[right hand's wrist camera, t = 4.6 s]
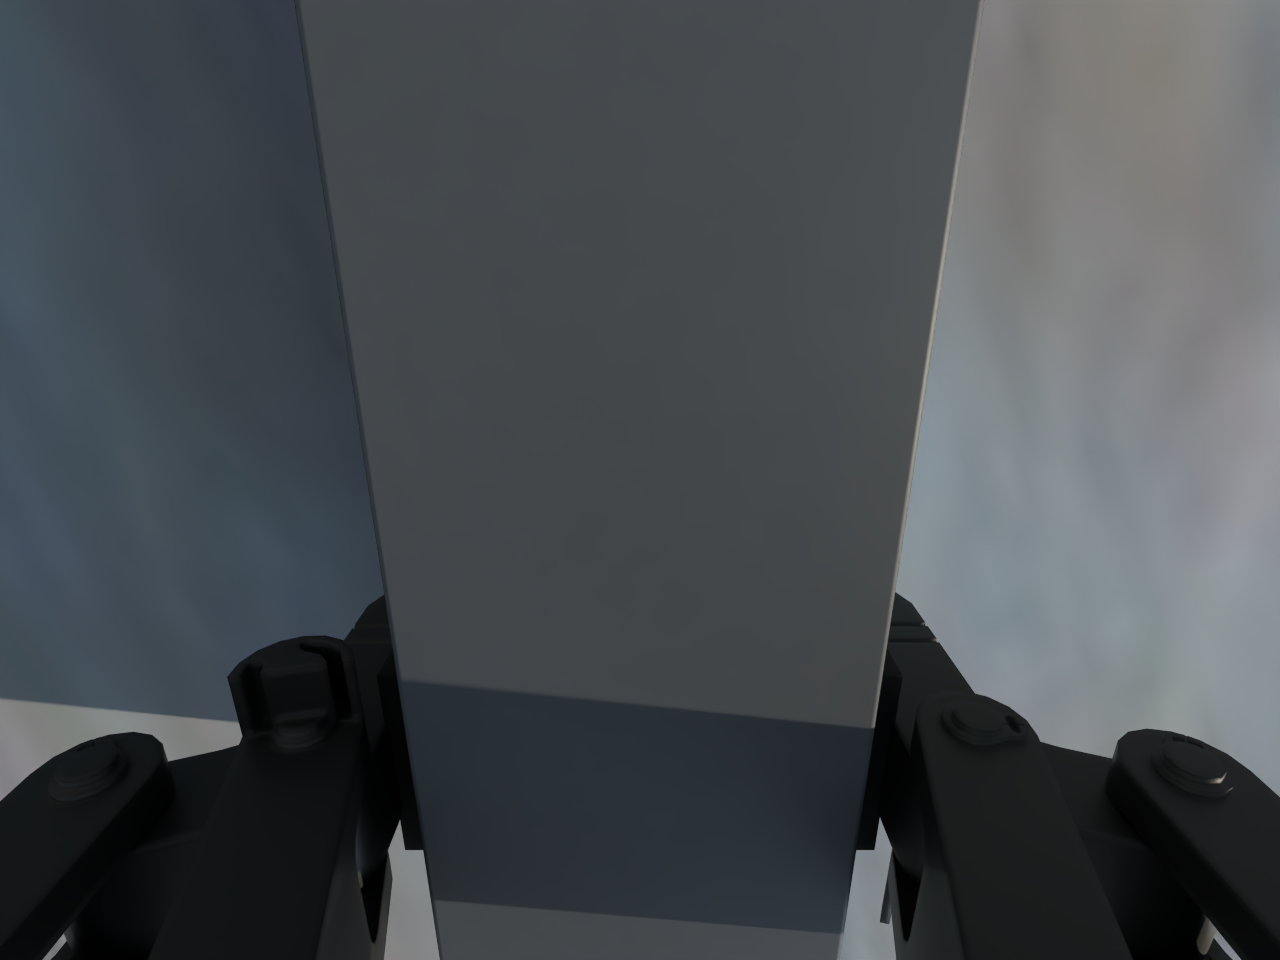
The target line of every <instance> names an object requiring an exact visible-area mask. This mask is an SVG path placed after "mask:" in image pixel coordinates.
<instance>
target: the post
mask: <svg viewBox="0 0 1280 960" xmlns="http://www.w3.org/2000/svg"><path fill="white" fill-rule="evenodd" d="M294 1H295V8H296V15H297V21H298V28H299V34H300V41H301V48H302V54H303V61H304V67H305V74H306V81H307V87H308V94H309V100H310V107H311V113H312V120H313V127H314V133H315V140H316V146H317V153H318V160H319V166H320V173H321V179H322V186H323V192H324V199H325V206H326V212H327V219H328V225H329V232H330V239H331V245H332V252H333V258H334V265H335V271H336V278H337V285H338V291H339V298H340V304H341V311H342V318H343V324H344V331H345V337H346V344H347V350H348V357H349V364H350V370H351V377H352V383H353V390H354V397H355V403H356V410H357V416H358V423H359V429H360V436H361V443H362V449H363V456H364V462H365V469H366V476H367V482H368V489H369V495H370V502H371V508H372V515H373V522H374V528H375V535H376V541H377V548H378V555H379V561H380V568H381V574H382V581H383V587H384V594H385V601H386V607H387V614H388V620H389V627H390V634H391V640H392V647H393V653H394V660H395V666H396V673H397V680H398V686H399V693H400V699H401V706H402V713H403V719H404V726H405V732H406V739H407V745H408V752H409V759H410V765H411V772H412V778H413V785H414V792H415V798H416V805H417V811H418V818H419V824H420V831H421V838H422V844H423V851H424V857H425V864H426V871H427V877H428V884H429V890H430V897H431V903H432V910H433V917H434V923H435V930H436V936H437V943H438V950H439V956H440V960H840V953H841V947H842V940H843V934H844V927H845V920H846V914H847V907H848V901H849V894H850V887H851V881H852V874H853V867H854V861H855V854H856V848H857V841H858V834H859V828H860V821H861V814H862V808H863V801H864V795H865V788H866V781H867V775H868V768H869V762H870V755H871V748H872V742H873V735H874V728H875V722H876V715H877V709H878V702H879V695H880V689H881V682H882V675H883V669H884V662H885V656H886V649H887V642H888V636H889V629H890V623H891V616H892V609H893V603H894V596H895V589H896V583H897V576H898V570H899V563H900V556H901V550H902V543H903V536H904V530H905V523H906V517H907V510H908V503H909V497H910V490H911V484H912V477H913V470H914V464H915V457H916V450H917V444H918V437H919V431H920V424H921V417H922V411H923V404H924V397H925V391H926V384H927V378H928V371H929V364H930V358H931V351H932V345H933V338H934V331H935V325H936V318H937V311H938V305H939V298H940V292H941V285H942V278H943V272H944V265H945V258H946V252H947V245H948V239H949V232H950V225H951V219H952V212H953V206H954V199H955V192H956V186H957V179H958V172H959V166H960V159H961V153H962V146H963V139H964V133H965V126H966V119H967V113H968V106H969V100H970V93H971V86H972V80H973V73H974V67H975V60H976V53H977V47H978V40H979V33H980V27H981V20H982V14H983V7H984V0H294Z"/></svg>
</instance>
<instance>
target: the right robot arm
mask: <svg viewBox="0 0 1280 960" xmlns="http://www.w3.org/2000/svg"><path fill="white" fill-rule="evenodd" d="M227 678H228V681H229V685H230V689H231V693H232V697H233V701H234V705H235V709H236V712H237V716H238V720H239V724H240V728H241V732H242V736H243V737H242V739H241V742H240V744H239V745H237V746H234V747H230V748H227V749H223V750H219V751H215V752H210V753H205V754H201V755H196V756H192V757H187V758H183V759H178V760H173V761H169V762H168V760H167V757H166V754H165V750H164V747H163V744H162V743H161V742H160V741H159V740H157V739H156V738H155V737H154V736H153V735H149V734H143V733H137V732H128V733H119V734H111V735H106V736H103V737H99V738H96V739H94V740H93V739H92V740H89V741H86V742H84V743H81V744H79V745H77V746H75V747H73V748H71V749H69V750H67V751H65V752H63V753H61V754H59V755H57V756H55V757H53V758H52V759H50V760H49V761H48V762H46V763H45V764H43V765H42V766H41V767H39V768H38V769H37V770H35V771H34V772H33V773H31V774H30V775H29V776H28V777H27V778H25V779H24V780H23V781H22V782H21V783H20V784H19V785H18V786H17V787H16V788H14V789H13V790H12V791H11V792H10V793H9V794H8V795H7V796H6V797H5V798H3V799H2V800H1V801H0V960H42V959H43V958H44V957H45V956H46V954H47V953H48V952H49V951H50V950H51V948H52V947H53V946H54V945H55V943H56V942H57V941H58V940H59V938H60V937H61V936H62V935H63V933H64V935H65V937H66V940H67V941H66V943H65V944H64V945H63V946H62V948H61V949H60V950H59V951H58V953H57V954H56V955H55V956H54V957H53V958H52V959H51V960H384V952H385V943H386V934H387V925H388V915H389V906H390V897H391V888H392V872H391V865H390V859H389V853H388V848H389V846H390V843H391V841H392V838H393V836H394V833H395V831H396V828H397V826H398V823H399V821H401V827H402V833H403V839H404V845H405V850H423V844H422V838H421V831H420V824H419V818H418V811H417V805H416V798H415V792H414V785H413V778H412V772H411V765H410V759H409V752H408V745H407V739H406V732H405V726H404V719H403V713H402V706H401V699H400V693H399V686H398V680H397V673H396V666H395V660H394V653H393V647H392V640H391V634H390V627H389V620H388V614H387V607H386V601H385V594H384V595H383V596H382V597H380V598H379V599H377V600H376V601H374V602H373V603H371V604H370V605H368V607H367V608H366V610H365V611H364V612H363V614H362V615H361V617H360V618H359V620H358V621H357V622H356V624H355V629H352V630H351V631H350V633H349V634H348V635H347V637H346V638H345V640H344V641H343V640H341V639H337V638H333V637H329V636H302V637H298V638H293V639H288V640H284V641H280V642H277V643H275V644H272V645H270V646H267V647H265V648H263V649H260V650H258V651H256V652H255V653H253V654H252V655H250V656H249V657H247V658H246V659H244V660H243V661H241V662H240V663H239V664H238V665H237V666H236V667H235V668H234V670H233V671H232V672H231V673H230V674H229V676H228V677H227ZM879 818H881V821H882V823H883V826H884V828H885V831H886V833H887V836H888V838H889V841H890V843H891V846H892V853H891V859H890V865H889V870H888V876H887V882H886V887H885V893H884V899H883V904H882V911H881V918H880V922H881V923H886V924H889V922H890V917H891V914H892V923H893V932H894V941H895V950H896V960H1232V959H1231V958H1230V957H1229V956H1228V955H1227V954H1226V953H1225V951H1224V950H1223V949H1222V948H1221V946H1220V945H1219V944H1218V943H1217V941H1216V940H1215V939H1214V936H1215V934H1216V931H1217V930H1218V931H1219V933H1220V934H1221V935H1222V936H1223V938H1224V939H1225V940H1226V941H1227V942H1228V944H1229V945H1230V946H1231V947H1232V949H1233V950H1234V951H1235V952H1236V953H1237V955H1238V956H1239V957H1240V958H1241V960H1280V797H1279V796H1278V795H1277V794H1276V793H1274V792H1273V791H1272V790H1271V789H1270V788H1269V787H1268V786H1267V785H1266V784H1264V783H1263V782H1262V781H1261V780H1260V779H1259V778H1258V777H1257V776H1256V775H1254V774H1253V773H1252V772H1251V771H1250V770H1248V769H1247V768H1246V767H1244V766H1243V765H1242V764H1240V763H1239V762H1237V761H1236V760H1235V759H1233V758H1232V757H1231V756H1229V755H1228V754H1226V753H1224V752H1222V751H1220V750H1218V749H1216V748H1214V747H1212V746H1210V745H1208V744H1206V743H1204V742H1202V741H1200V740H1197V739H1195V738H1192V737H1189V736H1188V737H1187V736H1184V735H1182V734H1178V733H1174V732H1171V731H1162V730H1154V729H1142V730H1136V731H1130V732H1128V733H1126V734H1125V735H1124V736H1123V737H1122V738H1121V739H1119V740H1118V742H1117V745H1116V749H1115V752H1114V755H1113V758H1112V759H1111V758H1107V757H1102V756H1097V755H1093V754H1088V753H1084V752H1079V751H1074V750H1070V749H1065V748H1061V747H1057V746H1053V745H1050V744H1046V743H1043V742H1040V740H1039V738H1038V736H1037V734H1036V733H1035V731H1034V730H1033V729H1032V727H1031V726H1030V724H1029V723H1028V722H1027V720H1025V719H1024V718H1023V717H1022V716H1020V715H1019V714H1018V713H1016V712H1015V711H1014V710H1012V709H1011V708H1010V707H1008V706H1006V705H1004V704H1002V703H1000V702H997V701H995V700H993V699H991V698H989V697H986V696H982V695H978V694H975V693H974V692H973V690H972V689H971V687H970V686H969V684H968V683H967V682H966V680H965V679H964V677H963V676H962V674H961V673H960V672H959V670H958V669H957V667H956V666H955V664H954V663H953V662H952V660H951V659H950V657H949V656H948V654H947V653H946V652H945V650H944V649H943V647H942V646H941V644H940V643H939V642H936V637H935V636H934V634H933V633H932V632H931V630H930V629H929V627H928V626H925V622H924V620H923V619H922V617H921V616H920V614H919V613H918V612H917V610H916V609H915V607H914V606H913V604H912V603H910V602H909V601H907V600H906V599H905V598H903V597H902V596H900V595H899V594H897V593H896V592H895V596H894V603H893V609H892V616H891V623H890V629H889V636H888V642H887V649H886V656H885V662H884V669H883V675H882V682H881V689H880V695H879V702H878V709H877V715H876V722H875V728H874V735H873V742H872V748H871V755H870V762H869V768H868V775H867V781H866V788H865V795H864V801H863V808H862V814H861V821H860V828H859V834H858V841H857V848H856V850H874V849H875V842H876V836H877V830H878V824H879Z"/></svg>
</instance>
